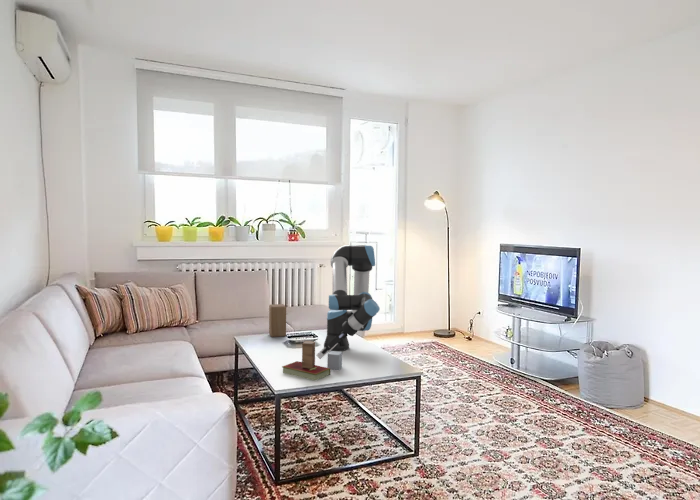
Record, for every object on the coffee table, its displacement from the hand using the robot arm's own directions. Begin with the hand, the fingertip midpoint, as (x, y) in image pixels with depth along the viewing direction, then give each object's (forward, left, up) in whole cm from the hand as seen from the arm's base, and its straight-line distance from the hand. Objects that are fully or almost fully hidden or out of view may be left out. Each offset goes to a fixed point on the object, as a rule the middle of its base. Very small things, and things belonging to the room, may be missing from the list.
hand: (322, 353), depth 235 cm
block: (-70, -53, -11) cm, 88 cm away
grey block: (-11, +3, -10) cm, 16 cm away
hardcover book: (+1, -8, -11) cm, 14 cm away
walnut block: (+1, -7, -7) cm, 10 cm away
